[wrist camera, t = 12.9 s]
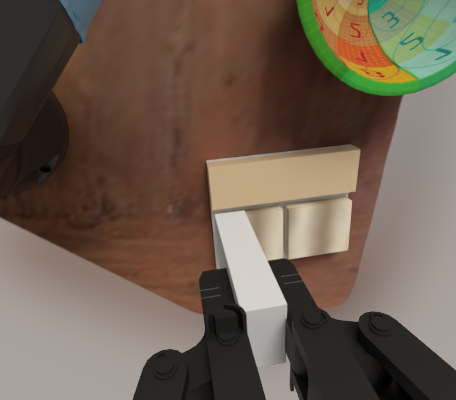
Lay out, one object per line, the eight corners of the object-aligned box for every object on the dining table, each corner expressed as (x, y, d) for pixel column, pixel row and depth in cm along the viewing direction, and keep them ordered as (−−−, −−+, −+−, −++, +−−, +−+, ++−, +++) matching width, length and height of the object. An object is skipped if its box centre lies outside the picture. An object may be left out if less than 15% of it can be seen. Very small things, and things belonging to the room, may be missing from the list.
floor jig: (216, 266, 50) (218, 276, 48) (205, 160, 42) (208, 167, 40) (339, 247, 52) (347, 256, 50) (350, 144, 45) (360, 149, 42)
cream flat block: (219, 263, 48) (220, 269, 46) (214, 213, 45) (216, 219, 43) (279, 253, 49) (283, 260, 47) (278, 205, 46) (282, 210, 44)
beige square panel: (284, 253, 49) (288, 259, 48) (284, 204, 46) (288, 209, 44) (342, 244, 50) (347, 250, 49) (345, 196, 47) (352, 201, 46)
